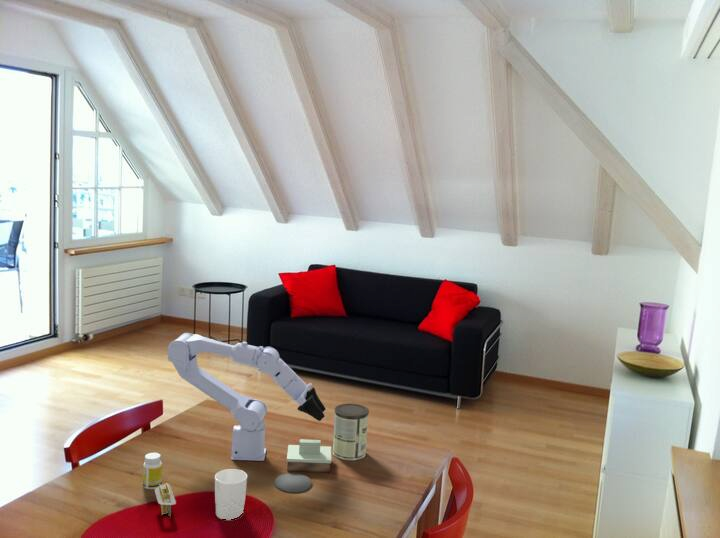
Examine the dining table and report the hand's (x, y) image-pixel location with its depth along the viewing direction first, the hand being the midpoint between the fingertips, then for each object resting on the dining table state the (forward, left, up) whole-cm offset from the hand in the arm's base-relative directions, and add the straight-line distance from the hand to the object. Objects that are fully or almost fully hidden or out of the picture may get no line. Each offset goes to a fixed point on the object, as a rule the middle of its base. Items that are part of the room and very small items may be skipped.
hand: (322, 415), depth 205 cm
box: (-3, -2, -15) cm, 15 cm away
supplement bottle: (-44, -18, -15) cm, 50 cm away
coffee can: (+9, +7, -15) cm, 18 cm away
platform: (-38, -31, -15) cm, 52 cm away
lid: (-3, -2, -12) cm, 12 cm away
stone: (-7, -14, -15) cm, 22 cm away
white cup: (-22, -31, -15) cm, 41 cm away
